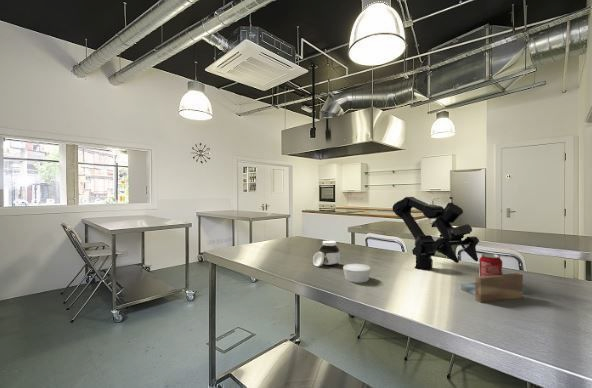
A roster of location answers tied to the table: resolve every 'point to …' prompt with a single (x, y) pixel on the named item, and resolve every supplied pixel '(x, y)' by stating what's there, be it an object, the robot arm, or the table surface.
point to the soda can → (490, 265)
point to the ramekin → (357, 272)
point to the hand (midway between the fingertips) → (467, 261)
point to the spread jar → (327, 255)
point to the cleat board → (496, 287)
